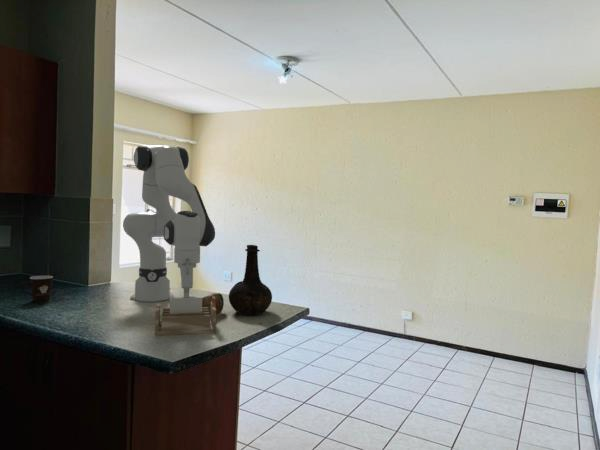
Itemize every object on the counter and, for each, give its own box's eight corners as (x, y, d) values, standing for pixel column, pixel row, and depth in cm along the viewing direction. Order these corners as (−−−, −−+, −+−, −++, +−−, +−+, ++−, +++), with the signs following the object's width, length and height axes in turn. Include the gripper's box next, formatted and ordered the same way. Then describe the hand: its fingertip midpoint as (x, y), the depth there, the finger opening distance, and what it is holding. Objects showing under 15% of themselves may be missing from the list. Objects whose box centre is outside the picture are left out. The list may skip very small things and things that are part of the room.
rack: (156, 324, 162) (157, 294, 162) (212, 322, 167) (213, 293, 167) (155, 335, 150) (155, 302, 149) (215, 332, 155) (216, 301, 154)
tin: (204, 320, 170) (204, 298, 170) (197, 319, 171) (197, 297, 171) (224, 312, 184) (224, 291, 184) (217, 311, 185) (218, 291, 185)
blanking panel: (169, 325, 158) (170, 297, 158) (201, 323, 161) (202, 296, 160) (169, 326, 156) (169, 298, 156) (201, 325, 159) (202, 297, 159)
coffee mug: (54, 297, 198) (54, 275, 197) (50, 302, 190) (50, 278, 189) (24, 298, 194) (24, 275, 194) (19, 303, 186) (19, 279, 185)
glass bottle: (250, 305, 197) (252, 242, 196) (280, 312, 186) (282, 245, 184) (219, 312, 183) (220, 244, 182) (249, 320, 172) (251, 248, 171)
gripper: (197, 261, 148) (196, 302, 149) (195, 254, 168) (194, 290, 168) (177, 261, 146) (176, 303, 147) (178, 254, 166) (177, 290, 167)
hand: (186, 296), depth 158 cm, fingers closed
